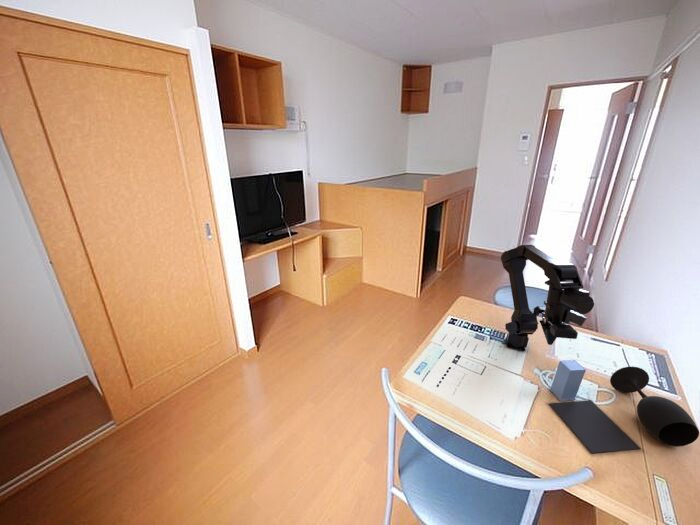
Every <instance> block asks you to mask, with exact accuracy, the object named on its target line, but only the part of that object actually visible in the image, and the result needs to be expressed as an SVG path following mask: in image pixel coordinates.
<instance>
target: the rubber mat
mask: <svg viewBox="0 0 700 525" xmlns="http://www.w3.org/2000/svg"><path fill="white" fill-rule="evenodd" d="M548 405H549V406H550V408H552V409H553V411H554V412H555V414H556V415H557V416H558V417H559V418H560V419H561V421H562V422H564V424H565V425H566V426H567V428H569V430H570V431H571V432H572V433H573V434H574V436H576V438H577V439H578V440H579V441H580V442H581V444H583V446H584V447H585V448H586V449H587V450H588V451H589V453H590V454H603V453H614V452H615V453H616V452H625V451H636V450H637V451H638V450H641V447H640V446H639V445H638V444H637V443H636V442H635V441H634V440H633V438H631V437H630V436H629V435H628V434H626V432H625V431H623V430H622V429H621V428H620V427H619V426H618V424H616V423H615V422H614V421H613V420H612V418H611V417H609V416H608V415H607V414H606V413H605V412H604V411H603V410H602V409H601V408H600V407H599V406H598V405H597V404H596V403H594V401H593V400H591V399H588V400H576V401H562V402H549V403H548Z"/></svg>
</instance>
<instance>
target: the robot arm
mask: <svg viewBox="0 0 700 525" xmlns="http://www.w3.org/2000/svg"><path fill="white" fill-rule="evenodd" d="M527 261H530V262H532V264H534V265H536V266H537V267H539V268H540V269H541V270H542V271H543V274H544V276H545V277H546V278H547V279H548V280H546V281H544V285H546V286H548V291H547V296H546V300H544V301H543V305H544V306H542V305H541V306H540V305H537V306H535V307H533V311H532V310H531V309H530V306H529V300H528V294H527V289H526V282H525V277H524V271H525V268H526V266H527ZM500 262H501V264H502V267H503V269H504V270H505V271H506V273H507V274H508V278H509V285H510V290H511V297H512V302H513V309H514V310H513V312H512V314H511V315H510V316H511V317H510V322H507V323H505V330H506V331H507V333H508V334H507V337H506V348H510V349H514V350H517V351H521V352H526V348H527V347H528V345H529V340H530V336H529V335H534V334H535V333H536V332H537V330H538V329H539V324H540V327H541V329H542V331H543V335H544V338H545V341H546V343H547V345H549V346H552V345H553V344H554V343H555V341H556V340H557V338H558V339H572V340H577V339H578V334H579V332H578V331H577V330H576V329H575V328H574V327H573V326H572V325H571V324H570V323H573V324H575V325H577V326H579V327H582V326H583V325H584V324H585V322H586V320H587V319H588V318H587V316H585V315H586V314H589V313H590V312H591V311H592V310H593V309H594V308H595V302H594V298H593V297H591V296H590V295H591V292H590V291H587V290H584V284H583V281H582V278H581V277H580V276H581V275H580V273H579V271H578V267H577V265H575V264H573V263H571V262H568V261H563V260H559V259H555V258H554V257H552V256H550V255H549V254H547V253H545V252H544V251H543V250H540V249H539V248H538V247H536V245H535V244H534V245H533V244H531V243H529V244H520V245H518V246H516V247H514V248H511V249H508V250H504V251H503V253H502V254H501V255H500ZM540 314H541V317H542V318H541V320H540V319H539V320H538V317H539V315H540ZM538 321H539V322H538Z"/></svg>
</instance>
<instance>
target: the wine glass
mask: <svg viewBox="0 0 700 525" xmlns="http://www.w3.org/2000/svg"><path fill="white" fill-rule="evenodd" d="M609 381H610V382H609V383H610V385H611V387H612V388H613V389H614V390H615V391H618V392H620V393H624V394H632V393H636V392H637V393H638V395H639V396H640V397H641V399H640V400H639V401H638V404H637V406H636V414H637V417H638V420H639V421H640V423H641V425H642V426H643V427H644V429H646V431H647V432H649V433H650V435H652V436H653V437H654V438H655V439H656V440H658V441H659V442H661V443H662V444H664V445H666V446H669V447H677V448H679V447H685V446H688V445H690V444H692V443H695V441H697V439H699V437H700V430H699V428H698V426H697V425H696V422H695V421H694V420H693V418H692V417H691V415H690V414H689V413H688V412H687V411H686V410H685V409H684V408H683V407H681V406H680V404H678V403H676V402H675V401H673V400H671V399H669V398H666V397H662V396H658V395H646V394H645V392H643V391H642V390H644V389H645V388H646V387H647V385H648V384H649V382H650V375H649V374H648V372H647V371H646V370H645V369H643V368H641V367H638V366H625V367H621V368H619V369H617V370H615V371H614V372H613V373H612V374H611V376H610V379H609Z"/></svg>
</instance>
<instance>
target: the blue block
mask: <svg viewBox="0 0 700 525" xmlns="http://www.w3.org/2000/svg"><path fill="white" fill-rule="evenodd" d="M586 371H587V369H586V368H585V367H584V366H583V365H581V364H580V362H578V361H577V360H576V359H563V360H559V362H558V365H557V368H556V370H555V373H554V376H553V380H552V383H551V386H550V389H549V390H550V392H551V393H552V394H553V395H554V396H555V397H556V398H557V399H558V400H559V401H560V402H561V401H562V402H563V401H573V400H576V398H577V394H578V392H579V389H580V387H581V384H582V382H583V379H584V376H585V374H586Z"/></svg>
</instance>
